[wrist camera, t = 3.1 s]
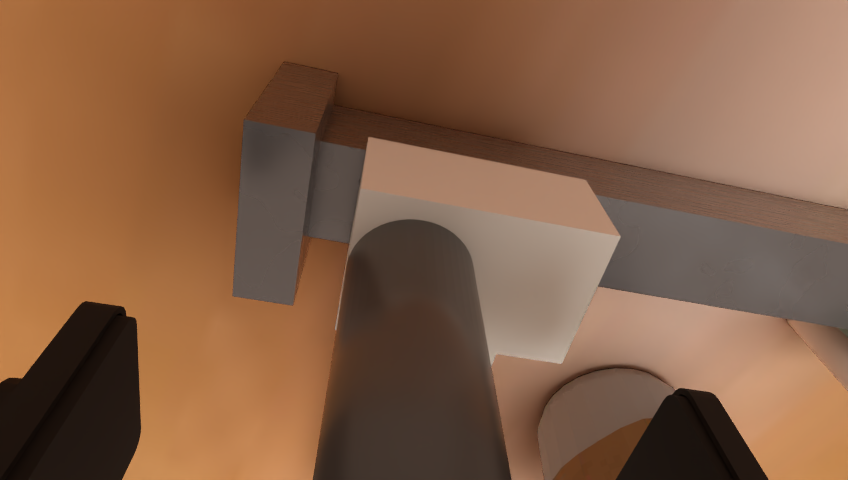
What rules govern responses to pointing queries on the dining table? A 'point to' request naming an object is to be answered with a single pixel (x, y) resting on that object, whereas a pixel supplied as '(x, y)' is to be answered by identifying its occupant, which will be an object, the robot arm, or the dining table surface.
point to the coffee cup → (597, 423)
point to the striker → (450, 308)
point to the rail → (611, 182)
